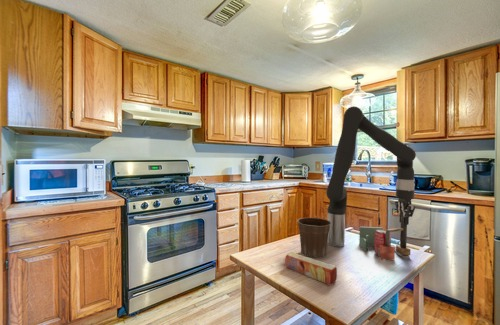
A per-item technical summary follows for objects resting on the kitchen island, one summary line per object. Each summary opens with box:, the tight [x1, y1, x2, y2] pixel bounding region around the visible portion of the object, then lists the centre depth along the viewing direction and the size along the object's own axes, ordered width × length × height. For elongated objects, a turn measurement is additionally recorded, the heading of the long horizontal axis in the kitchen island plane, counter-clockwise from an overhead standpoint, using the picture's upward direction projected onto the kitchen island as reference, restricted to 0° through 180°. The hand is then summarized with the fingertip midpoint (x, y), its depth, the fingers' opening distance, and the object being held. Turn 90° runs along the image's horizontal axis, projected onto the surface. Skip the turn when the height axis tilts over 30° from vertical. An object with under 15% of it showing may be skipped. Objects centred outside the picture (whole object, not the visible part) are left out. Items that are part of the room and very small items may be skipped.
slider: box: [378, 210, 411, 261], centre depth 114 cm, size 15×8×22 cm, turn 85°
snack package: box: [284, 251, 338, 286], centre depth 96 cm, size 21×7×7 cm, turn 45°
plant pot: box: [296, 217, 331, 259], centre depth 117 cm, size 16×16×16 cm
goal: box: [358, 226, 384, 252], centre depth 125 cm, size 12×10×10 cm
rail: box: [391, 244, 411, 259], centre depth 120 cm, size 3×15×1 cm, turn 175°
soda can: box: [373, 229, 392, 257], centre depth 116 cm, size 7×7×12 cm
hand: (403, 223), depth 115 cm, fingers closed on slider, 2 cm apart
